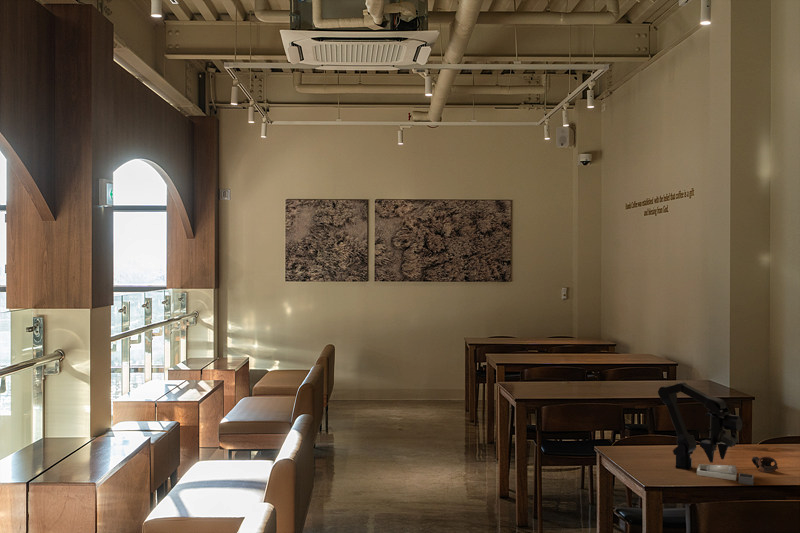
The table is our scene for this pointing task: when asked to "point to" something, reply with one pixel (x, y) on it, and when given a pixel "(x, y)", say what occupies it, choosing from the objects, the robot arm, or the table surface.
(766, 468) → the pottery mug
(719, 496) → the table surface
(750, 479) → the fuse holder
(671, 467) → the table surface
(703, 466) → the parts tray
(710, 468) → the fuse
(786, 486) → the table surface
